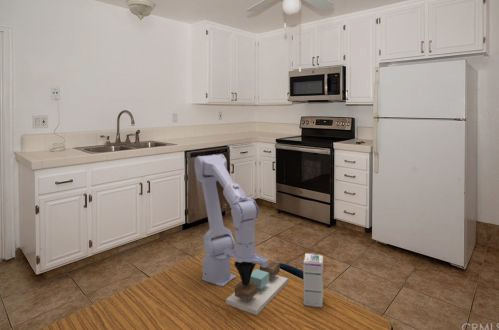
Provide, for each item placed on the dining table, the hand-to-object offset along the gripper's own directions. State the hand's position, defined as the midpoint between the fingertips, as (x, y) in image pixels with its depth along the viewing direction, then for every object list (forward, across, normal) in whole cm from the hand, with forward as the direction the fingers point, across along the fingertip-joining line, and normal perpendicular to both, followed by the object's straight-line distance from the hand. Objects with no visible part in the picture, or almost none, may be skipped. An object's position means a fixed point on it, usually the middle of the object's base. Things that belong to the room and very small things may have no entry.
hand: (246, 283), depth 97 cm
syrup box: (+7, +17, +12) cm, 22 cm away
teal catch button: (+4, 0, +7) cm, 8 cm away
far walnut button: (+4, 0, +15) cm, 15 cm away
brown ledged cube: (+4, 0, 0) cm, 4 cm away
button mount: (+7, 0, +8) cm, 10 cm away
